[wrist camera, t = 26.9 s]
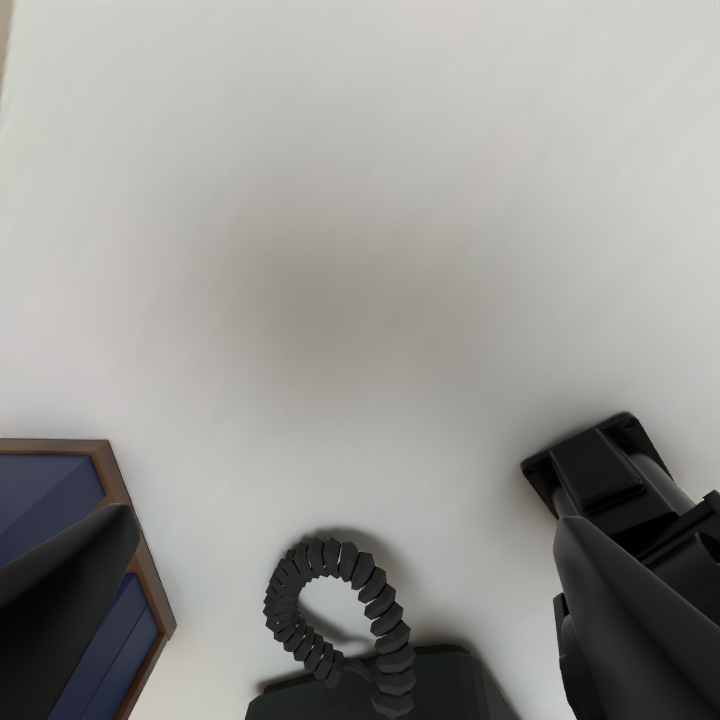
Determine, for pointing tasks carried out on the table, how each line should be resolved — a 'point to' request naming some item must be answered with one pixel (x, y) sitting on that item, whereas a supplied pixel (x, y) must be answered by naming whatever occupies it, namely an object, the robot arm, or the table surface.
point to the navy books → (110, 657)
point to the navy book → (43, 498)
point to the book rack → (141, 557)
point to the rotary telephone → (371, 676)
